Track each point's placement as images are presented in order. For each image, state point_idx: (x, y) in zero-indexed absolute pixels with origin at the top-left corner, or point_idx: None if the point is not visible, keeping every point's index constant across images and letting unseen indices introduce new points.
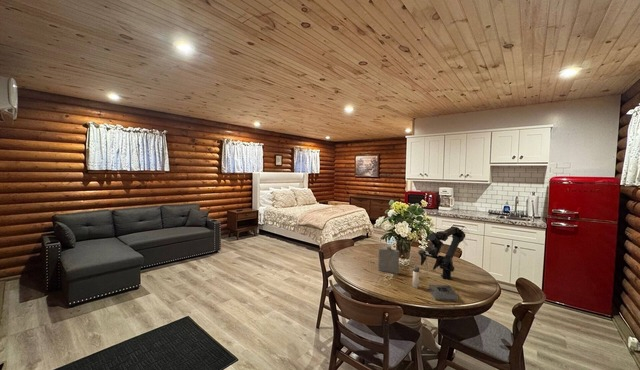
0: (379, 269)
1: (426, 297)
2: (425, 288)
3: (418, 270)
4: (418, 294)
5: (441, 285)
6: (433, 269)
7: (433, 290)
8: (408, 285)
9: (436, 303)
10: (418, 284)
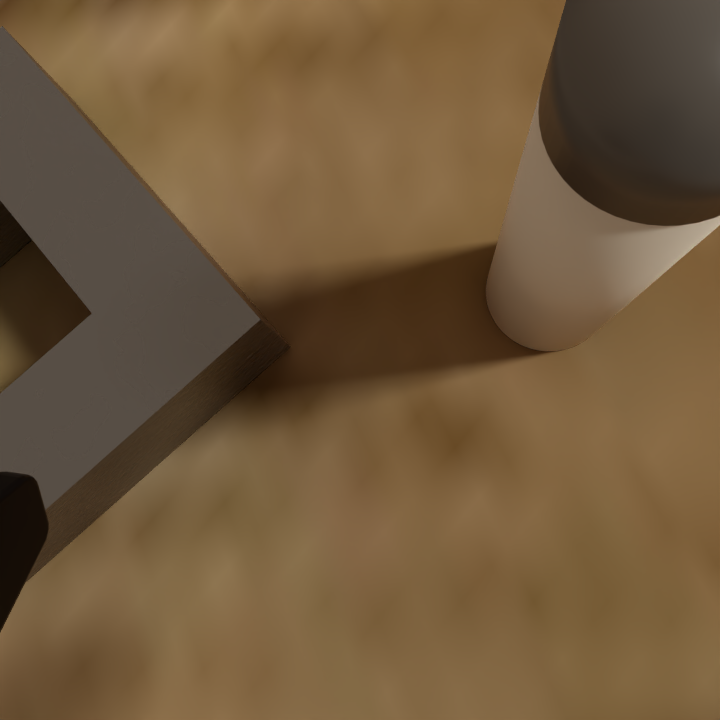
0: None
1: (203, 64)
2: (373, 378)
3: (554, 43)
4: (345, 54)
5: None
6: (26, 500)
7: (76, 115)
8: None
9: (20, 13)
10: (491, 276)
